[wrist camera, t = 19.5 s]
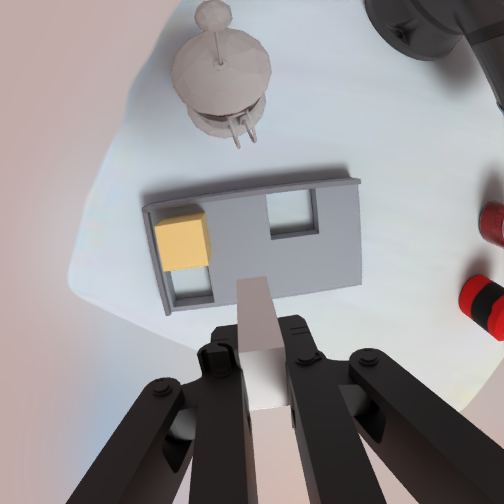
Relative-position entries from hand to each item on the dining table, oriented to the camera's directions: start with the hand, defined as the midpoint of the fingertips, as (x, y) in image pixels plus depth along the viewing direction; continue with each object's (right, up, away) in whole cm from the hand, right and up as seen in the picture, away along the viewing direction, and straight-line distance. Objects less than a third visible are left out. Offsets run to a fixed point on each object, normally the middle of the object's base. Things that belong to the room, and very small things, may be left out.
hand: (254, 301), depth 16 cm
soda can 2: (+39, -5, +29) cm, 49 cm away
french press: (-3, +20, +20) cm, 28 cm away
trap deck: (+1, +4, +24) cm, 25 cm away
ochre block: (-8, +5, +21) cm, 23 cm away
